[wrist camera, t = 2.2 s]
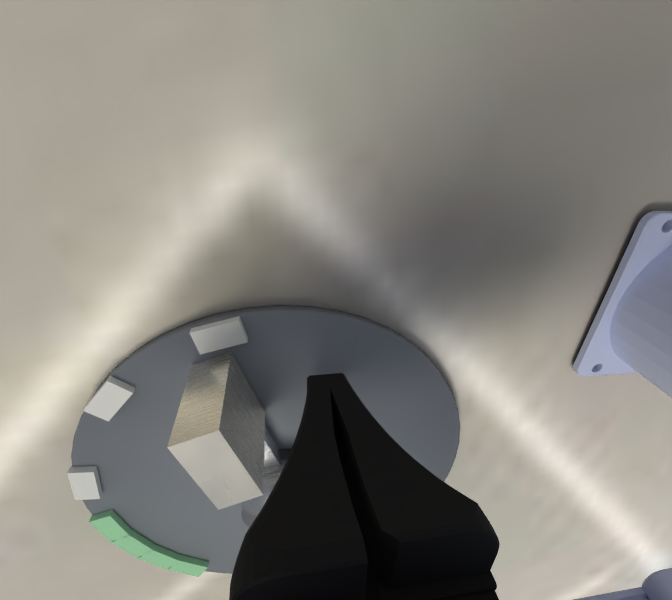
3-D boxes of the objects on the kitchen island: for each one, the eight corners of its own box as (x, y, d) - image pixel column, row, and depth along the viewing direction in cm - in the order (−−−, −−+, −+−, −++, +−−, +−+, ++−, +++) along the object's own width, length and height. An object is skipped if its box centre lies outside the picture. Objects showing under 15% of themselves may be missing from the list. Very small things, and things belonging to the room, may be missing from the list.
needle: (328, 484, 19) (340, 567, 15) (261, 506, 19) (259, 593, 16) (256, 343, 14) (251, 419, 11) (166, 373, 14) (134, 458, 11)
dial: (495, 300, 16) (506, 311, 15) (422, 542, 24) (427, 557, 23) (13, 311, 13) (-3, 325, 12) (124, 581, 21) (119, 599, 21)
